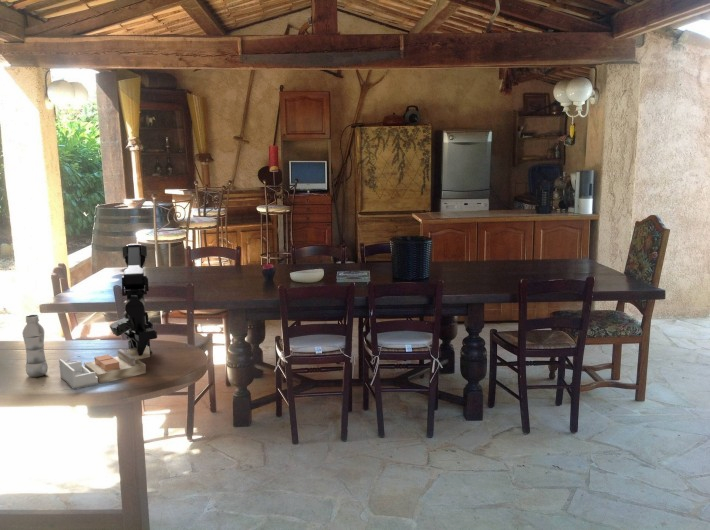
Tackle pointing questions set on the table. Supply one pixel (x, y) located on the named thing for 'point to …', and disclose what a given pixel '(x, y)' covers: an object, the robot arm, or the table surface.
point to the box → (77, 374)
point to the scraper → (133, 355)
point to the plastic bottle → (34, 347)
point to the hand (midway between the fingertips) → (138, 354)
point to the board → (116, 370)
